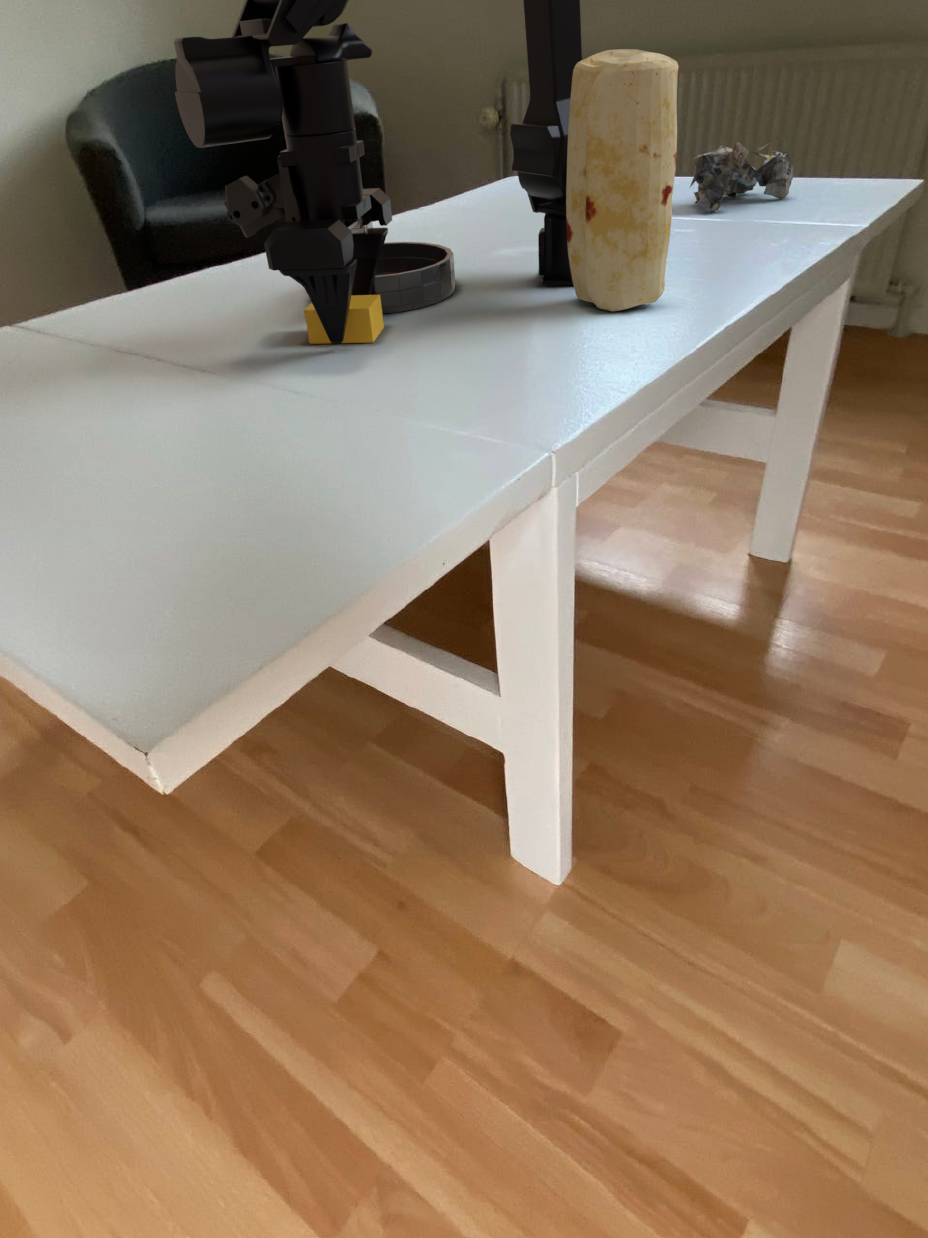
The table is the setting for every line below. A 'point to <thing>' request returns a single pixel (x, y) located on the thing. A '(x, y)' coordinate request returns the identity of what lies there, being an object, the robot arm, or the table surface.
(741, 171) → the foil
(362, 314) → the sponge
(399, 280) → the pan
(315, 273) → the robot arm
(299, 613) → the table surface
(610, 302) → the food model
